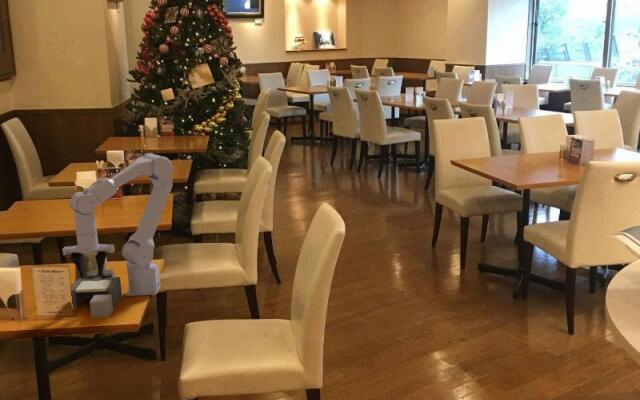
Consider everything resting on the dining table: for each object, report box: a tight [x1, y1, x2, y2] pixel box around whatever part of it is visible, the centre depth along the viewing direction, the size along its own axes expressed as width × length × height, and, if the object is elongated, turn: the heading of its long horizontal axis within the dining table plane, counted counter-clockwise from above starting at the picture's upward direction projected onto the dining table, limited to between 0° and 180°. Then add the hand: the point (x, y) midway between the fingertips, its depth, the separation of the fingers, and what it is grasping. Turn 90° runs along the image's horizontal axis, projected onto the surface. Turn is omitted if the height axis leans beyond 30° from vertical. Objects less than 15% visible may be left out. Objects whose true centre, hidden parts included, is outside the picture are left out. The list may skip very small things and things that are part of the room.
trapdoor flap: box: [75, 269, 116, 292], centre depth 202 cm, size 9×12×4 cm
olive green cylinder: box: [74, 253, 91, 283], centre depth 214 cm, size 6×6×11 cm
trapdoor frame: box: [70, 276, 123, 310], centre depth 201 cm, size 13×9×6 cm
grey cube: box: [89, 294, 114, 319], centre depth 193 cm, size 5×5×5 cm
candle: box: [89, 253, 109, 271], centre depth 221 cm, size 6×6×10 cm
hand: (92, 275), depth 197 cm, fingers open, 5 cm apart
